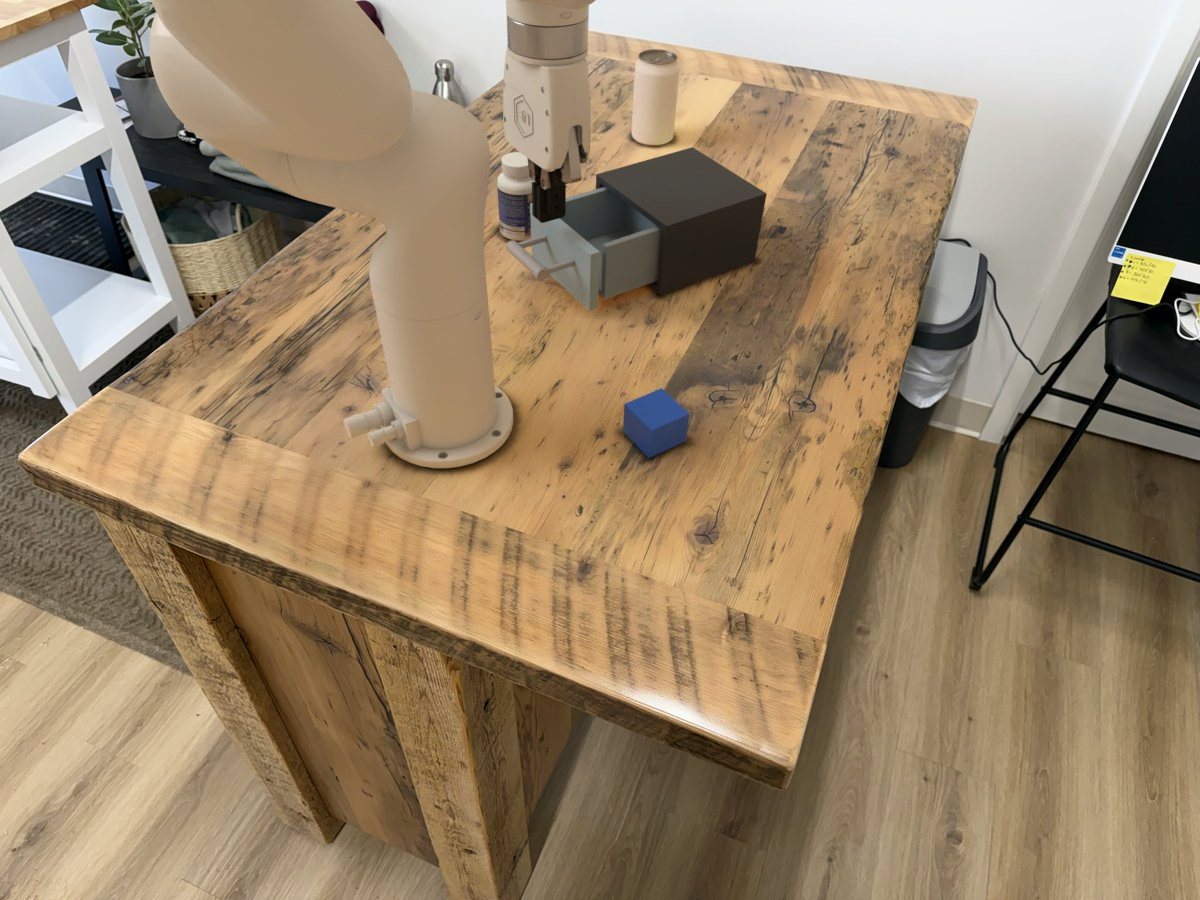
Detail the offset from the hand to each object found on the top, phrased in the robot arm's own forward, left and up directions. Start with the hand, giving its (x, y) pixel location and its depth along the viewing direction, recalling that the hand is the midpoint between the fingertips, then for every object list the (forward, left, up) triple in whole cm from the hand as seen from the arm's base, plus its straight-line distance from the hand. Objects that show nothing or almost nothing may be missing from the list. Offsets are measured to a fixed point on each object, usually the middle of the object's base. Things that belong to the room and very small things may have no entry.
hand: (549, 216), depth 91 cm
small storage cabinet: (+18, 0, -10) cm, 21 cm away
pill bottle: (+4, +14, -10) cm, 18 cm away
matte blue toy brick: (-4, -26, -10) cm, 28 cm away
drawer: (+6, 0, -9) cm, 11 cm away
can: (+35, +28, -10) cm, 46 cm away
